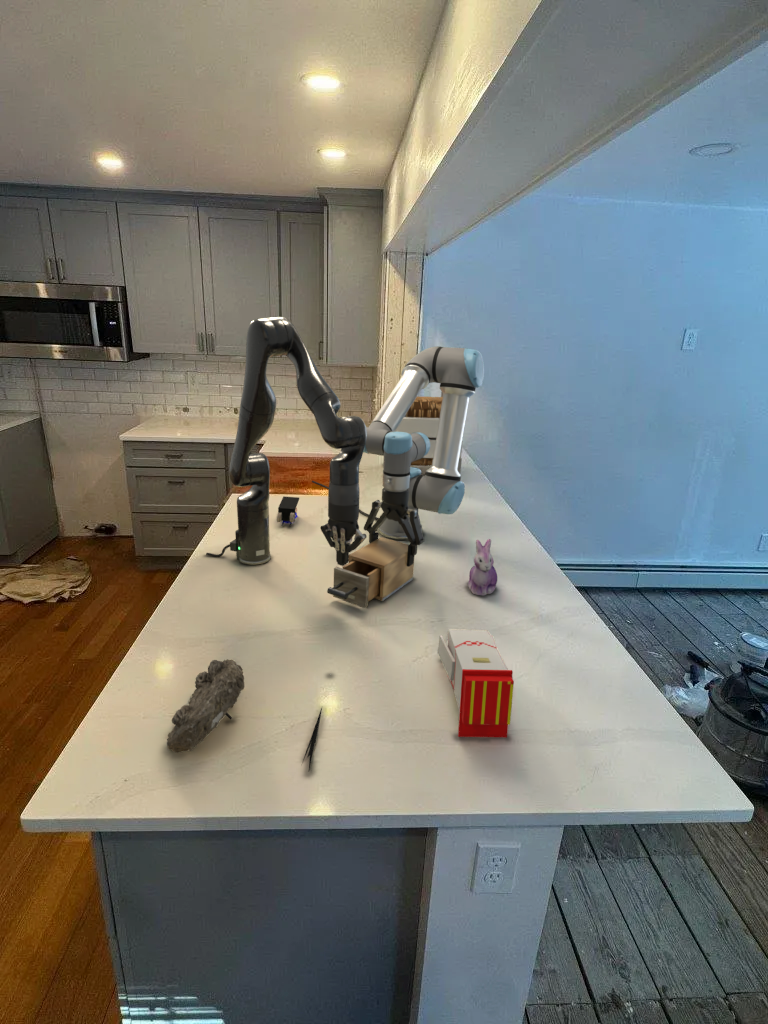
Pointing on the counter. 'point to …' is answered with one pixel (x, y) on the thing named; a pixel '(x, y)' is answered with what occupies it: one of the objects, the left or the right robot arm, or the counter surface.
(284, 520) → the figurine character
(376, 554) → the cabinet
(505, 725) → the toy
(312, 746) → the feather
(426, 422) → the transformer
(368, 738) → the counter surface
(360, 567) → the drawer
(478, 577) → the figurine
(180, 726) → the fossil
